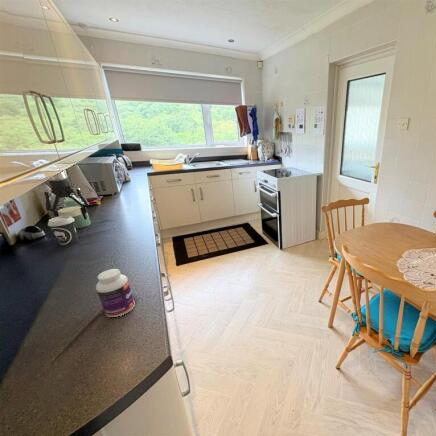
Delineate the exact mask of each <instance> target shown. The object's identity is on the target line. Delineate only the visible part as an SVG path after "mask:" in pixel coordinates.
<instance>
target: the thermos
mask: <svg viewBox="0 0 436 436" xmlns="http://www.w3.org/2000/svg"><path fill="white" fill-rule="evenodd" d="M77 198H78V199H79V200H80V201H81V202H83V201H82V200H81V198H80V197H77ZM63 203H64V204H63V207H64V208H68V207H75V206H79V207H81V206H80V205H79V204H77V203H76V202H75V201H74V200H73V199H71V198H70V197H69V198H66V199H64V200H63ZM83 203H84V202H83ZM64 208H63V209H64ZM86 215H87V219H86V220H84V217H83V214H81V215H78V216H74V217H72V218H74V220H75V221H74V224H75V228H76V229H80V228H85V227H88V226H90V225H92V221H91V218H90V216H89V213H88V212H87V213H86Z"/></svg>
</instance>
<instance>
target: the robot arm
mask: <svg viewBox="0 0 436 436" xmlns="http://www.w3.org/2000/svg"><path fill="white" fill-rule="evenodd" d="M48 184H49V187H50V189H51V190H46V191H44V192H43V194H44V197H45V208H46V209H45V210H46V211H47V212H49V211H50V212H52V213H53V216H54V218H55V217H59V214H58V210H59V209H58V206H59V204H60V200H61V199H62V198H63V199H64V198H69V199H70V198H71V199H73V200H74V201H75V202H76V203H77V204H79V205H80V206H81V208H80V209H81V211H82V214H83V217H84V220H86V219H87V215H86V213H88V209H87V207H88V206H89V205H90V202H89V201H88V199H87V198H86V197H85V195H84V193H83V192H82V189H81V188H80V187H78V188H74V187H72V184H71V182H70V179H69V177H68V173H67V170H66V169H65V170H64V171H63V172H61V173H59V174H58V175H56V176H54V177H52V178H51V179H49V180H48ZM74 193H76V195H77V196H78V197H77V196H76V195H75V194H74ZM52 194H53V195H54V196H55V197H54V201H53V205H52ZM78 198H81V200H82V201H83V202H84V203H83V202H81V201H80V200H79V199H78Z"/></svg>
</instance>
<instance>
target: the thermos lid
mask: <svg viewBox="0 0 436 436" xmlns="http://www.w3.org/2000/svg"><path fill="white" fill-rule="evenodd" d="M80 208H81V207H79V206H75V207H68V208H61V209H57V210H58V214H59V216H71V217H74V216H78V215H81V214H82V211H81V209H80Z"/></svg>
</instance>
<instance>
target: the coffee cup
mask: <svg viewBox="0 0 436 436" xmlns="http://www.w3.org/2000/svg"><path fill="white" fill-rule="evenodd" d="M74 221H75V220H74V218H72V217H71V216H59V217H55V216H54V217H52V218H50V219H48V222H47V227H49V228H51V231H52V232H53V234H54V236H55V238H56V239H57V241H58V243H59V245H60V246H61V247H66V246H68V247H69V246H72V245H75V244H77V243H78V242H79V237H78V232H77V228H75V224H74Z"/></svg>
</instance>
